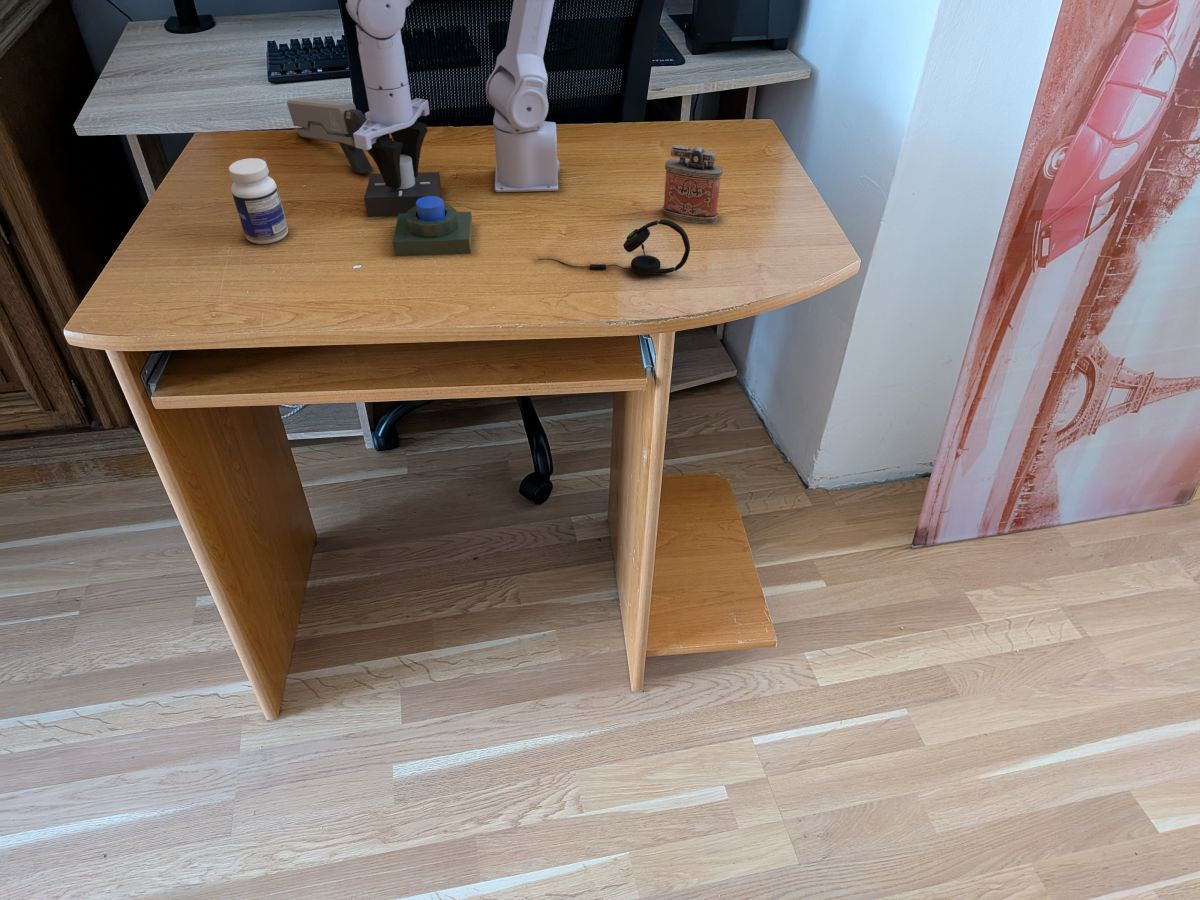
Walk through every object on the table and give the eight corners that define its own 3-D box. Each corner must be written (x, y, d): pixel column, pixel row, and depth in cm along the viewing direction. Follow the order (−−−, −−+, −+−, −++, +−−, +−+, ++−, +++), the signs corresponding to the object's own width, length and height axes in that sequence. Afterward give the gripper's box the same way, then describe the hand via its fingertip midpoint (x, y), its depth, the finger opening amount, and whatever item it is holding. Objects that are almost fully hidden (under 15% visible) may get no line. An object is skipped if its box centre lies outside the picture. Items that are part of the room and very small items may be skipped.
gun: (370, 177, 126) (350, 107, 120) (304, 162, 143) (284, 100, 138) (385, 172, 127) (366, 103, 121) (317, 158, 144) (298, 96, 139)
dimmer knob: (420, 181, 121) (416, 155, 118) (405, 191, 118) (401, 164, 116) (399, 176, 122) (395, 150, 119) (384, 186, 119) (380, 159, 117)
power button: (445, 209, 113) (444, 195, 111) (444, 222, 110) (442, 207, 109) (419, 210, 113) (417, 196, 111) (416, 222, 110) (414, 208, 109)
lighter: (719, 215, 120) (727, 147, 113) (714, 225, 118) (721, 156, 111) (665, 206, 122) (670, 139, 115) (659, 216, 120) (663, 148, 113)
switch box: (472, 225, 117) (469, 199, 114) (470, 254, 111) (467, 226, 108) (400, 228, 116) (396, 201, 114) (394, 256, 111) (390, 228, 108)
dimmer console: (441, 190, 125) (439, 170, 123) (438, 215, 119) (435, 194, 117) (374, 192, 125) (370, 172, 122) (367, 217, 119) (363, 196, 117)
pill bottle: (244, 229, 116) (223, 159, 109) (286, 222, 117) (268, 153, 111) (247, 248, 112) (225, 177, 105) (291, 241, 113) (272, 170, 107)
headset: (565, 281, 118) (701, 247, 110) (552, 305, 112) (693, 271, 104) (547, 237, 114) (686, 198, 106) (532, 259, 109) (677, 221, 101)
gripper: (394, 62, 117) (408, 157, 126) (327, 95, 107) (347, 195, 116) (436, 69, 114) (447, 165, 124) (372, 104, 105) (389, 205, 114)
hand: (402, 180), depth 120 cm, fingers closed on dimmer knob, 3 cm apart
